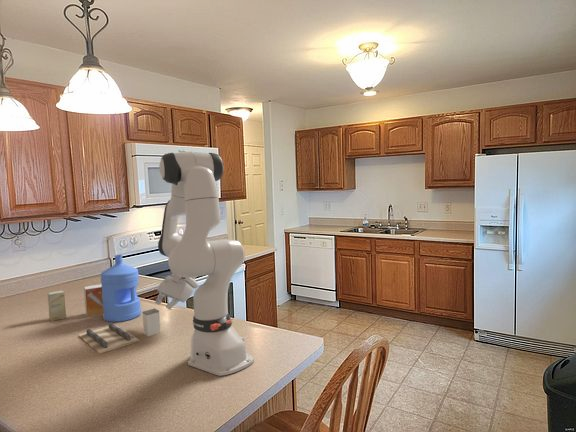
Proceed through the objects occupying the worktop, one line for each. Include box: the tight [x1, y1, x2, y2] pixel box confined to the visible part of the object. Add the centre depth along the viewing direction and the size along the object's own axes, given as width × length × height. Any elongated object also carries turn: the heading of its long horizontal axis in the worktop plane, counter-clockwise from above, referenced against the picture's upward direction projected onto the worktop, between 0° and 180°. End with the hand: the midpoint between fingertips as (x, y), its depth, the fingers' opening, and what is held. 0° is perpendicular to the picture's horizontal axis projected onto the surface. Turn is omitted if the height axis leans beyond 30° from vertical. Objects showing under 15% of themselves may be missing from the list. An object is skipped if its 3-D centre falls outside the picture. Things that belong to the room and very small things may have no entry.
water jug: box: [100, 254, 142, 323], centre depth 172 cm, size 16×16×28 cm
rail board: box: [78, 322, 140, 354], centre depth 148 cm, size 24×14×3 cm, turn 44°
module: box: [141, 308, 161, 337], centre depth 152 cm, size 4×5×9 cm
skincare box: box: [47, 289, 67, 322], centre depth 173 cm, size 6×4×12 cm
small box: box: [83, 283, 104, 318], centre depth 178 cm, size 8×6×13 cm
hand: (162, 306), depth 155 cm, fingers open, 8 cm apart
